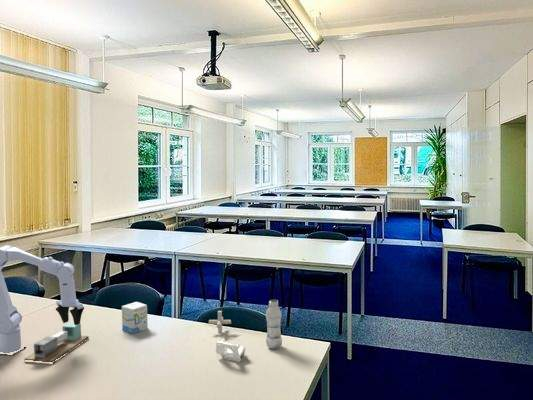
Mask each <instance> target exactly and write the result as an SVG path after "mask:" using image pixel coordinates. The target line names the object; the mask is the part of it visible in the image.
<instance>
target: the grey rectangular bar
mask: <svg viewBox="0 0 533 400" xmlns="http://www.w3.org/2000/svg"><path fill="white" fill-rule="evenodd" d="M51 337H57V345H58V344H59V343H61V342H62V341H64V340H66V339H67V338H68V337H67V331H63V330H60V331H59V332H57V333H54V335H51ZM39 346H40V351H43V346H41V345H39Z"/></svg>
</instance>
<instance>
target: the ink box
mask: <svg viewBox="0 0 533 400" xmlns="http://www.w3.org/2000/svg"><path fill="white" fill-rule="evenodd" d="M121 321H122V322H121V325H122V327H121V328H122V329H121V330H122V331H124V332H127V333H128V334H136V332H137V333H139V332H141V330H142V331H144V329H145V330H147V329H148V326H149V325H148V305H147V304H145V303H142V302H139V301H133V302H132V303H127V304H125V305H122V306H121Z"/></svg>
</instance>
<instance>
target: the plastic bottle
mask: <svg viewBox="0 0 533 400" xmlns="http://www.w3.org/2000/svg"><path fill="white" fill-rule="evenodd" d="M268 306H269V307H268V308H267V309H266V311H265V318H266V326H267V329H266V330H267V332H266V338H265V339H266V341H265V342H266V346H267V348H268V349H271V350H277V349H280V348H281V347H282V345H283V340H282V339H283V338H282V333H281V322H282V310H280V308H279V300H278V299H270V300H269V301H268Z"/></svg>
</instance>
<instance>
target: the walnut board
mask: <svg viewBox="0 0 533 400" xmlns="http://www.w3.org/2000/svg"><path fill="white" fill-rule="evenodd" d="M87 339H88V340H89V335H81V337H79V338H78V339H76V340H64V341H62V342H61V343H59V344H58V351H56V352H55V353H53V354H52V355H50V356H49V357H47V358H46V359H41V358H35V355H34V352H32V353H31V354H29V355H28V356H26V357H24V361H25V360H33V361H42V362H53V361H55V360H56V359H58V358H60V357H61V356H63V355H64V354H66V353H68V352H69V351H70V350H72V349H73V348H75V347H76V346H78V345H79V344H81V343H82V342H84V341H85V340H87ZM88 340H87V341H88ZM85 342H86V341H85ZM85 342H84V343H85ZM82 344H83V343H82ZM82 344H81V345H82ZM78 347H79V346H78ZM75 349H76V348H75ZM72 351H73V350H72ZM69 353H70V352H69ZM69 353H68V354H69ZM66 355H67V354H66ZM63 357H64V356H63Z"/></svg>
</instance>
